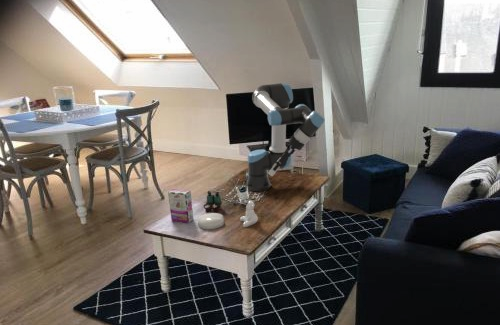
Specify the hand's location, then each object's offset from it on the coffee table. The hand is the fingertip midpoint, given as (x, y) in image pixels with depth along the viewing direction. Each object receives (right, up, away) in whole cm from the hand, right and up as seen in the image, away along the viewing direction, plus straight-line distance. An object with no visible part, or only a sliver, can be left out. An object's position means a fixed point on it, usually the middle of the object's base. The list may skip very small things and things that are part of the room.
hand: (272, 171), depth 202 cm
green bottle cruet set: (-31, -23, +21) cm, 44 cm away
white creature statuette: (-11, -27, +4) cm, 29 cm away
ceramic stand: (-31, -27, +5) cm, 42 cm away
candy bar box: (-47, -26, +11) cm, 55 cm away
